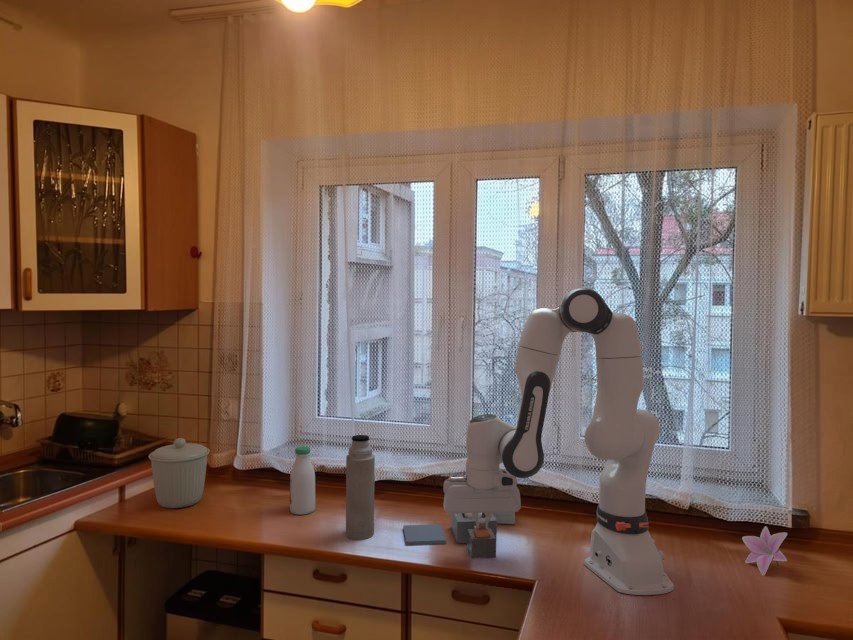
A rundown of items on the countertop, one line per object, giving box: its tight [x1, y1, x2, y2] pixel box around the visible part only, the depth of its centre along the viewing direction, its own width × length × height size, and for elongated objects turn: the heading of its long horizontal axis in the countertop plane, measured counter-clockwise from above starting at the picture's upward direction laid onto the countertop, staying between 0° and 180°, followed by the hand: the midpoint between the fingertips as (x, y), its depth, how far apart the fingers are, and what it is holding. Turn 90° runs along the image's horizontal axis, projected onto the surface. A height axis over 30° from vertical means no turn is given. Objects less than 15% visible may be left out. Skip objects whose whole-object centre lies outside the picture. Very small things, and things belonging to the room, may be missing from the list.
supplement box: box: [492, 512, 516, 525], centre depth 172 cm, size 7×7×13 cm
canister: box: [148, 437, 211, 509], centre depth 182 cm, size 18×18×21 cm
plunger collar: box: [466, 529, 497, 559], centre depth 150 cm, size 6×6×5 cm
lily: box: [741, 525, 788, 576], centre depth 143 cm, size 12×12×10 cm
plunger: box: [474, 526, 489, 537], centre depth 149 cm, size 3×3×6 cm
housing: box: [450, 513, 498, 544], centre depth 161 cm, size 11×11×6 cm
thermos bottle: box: [345, 434, 376, 541], centre depth 160 cm, size 8×8×28 cm
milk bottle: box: [289, 445, 316, 516], centre depth 177 cm, size 8×8×20 cm
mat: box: [402, 523, 447, 546], centre depth 159 cm, size 11×11×1 cm
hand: (481, 528), depth 149 cm, fingers closed, pressing on plunger
